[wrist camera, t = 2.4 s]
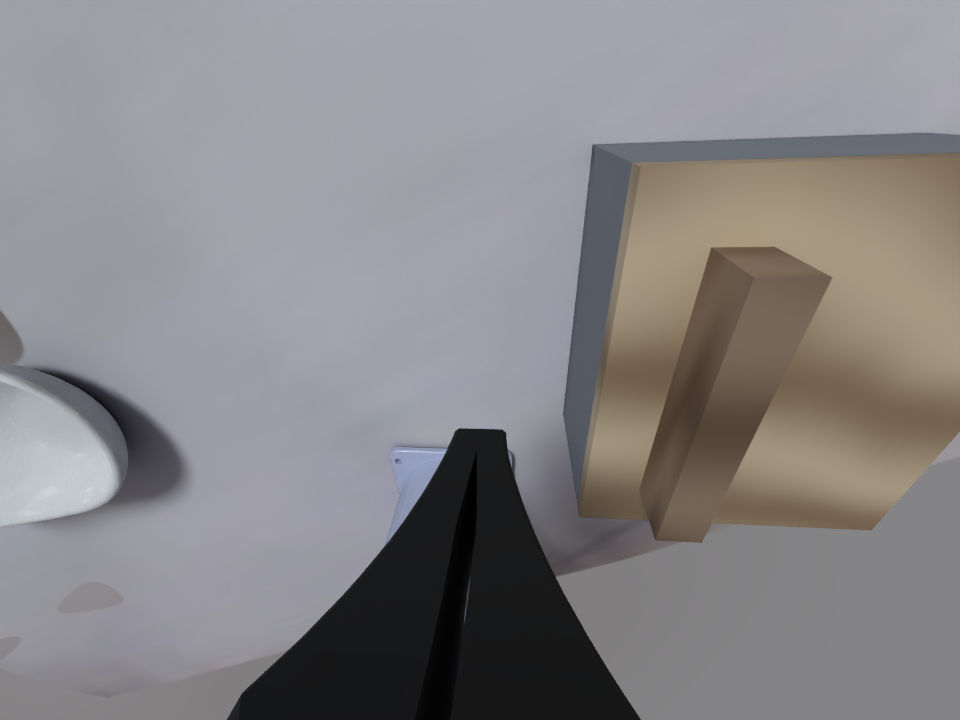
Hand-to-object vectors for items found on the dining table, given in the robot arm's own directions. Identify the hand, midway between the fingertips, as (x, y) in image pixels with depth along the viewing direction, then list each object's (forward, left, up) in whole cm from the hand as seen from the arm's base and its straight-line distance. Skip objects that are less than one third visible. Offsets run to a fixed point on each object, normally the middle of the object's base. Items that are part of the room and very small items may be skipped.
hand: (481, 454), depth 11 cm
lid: (0, -10, -4) cm, 11 cm away
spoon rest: (-11, +35, -10) cm, 38 cm away
